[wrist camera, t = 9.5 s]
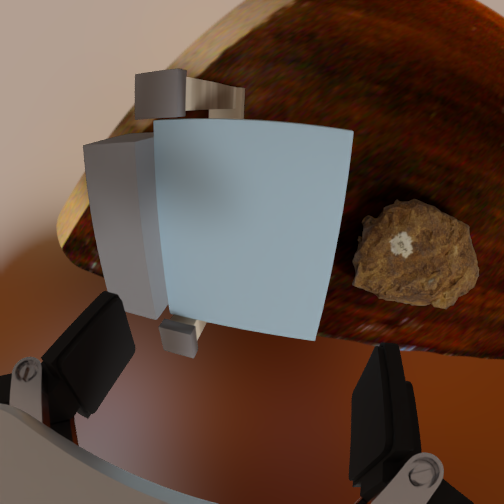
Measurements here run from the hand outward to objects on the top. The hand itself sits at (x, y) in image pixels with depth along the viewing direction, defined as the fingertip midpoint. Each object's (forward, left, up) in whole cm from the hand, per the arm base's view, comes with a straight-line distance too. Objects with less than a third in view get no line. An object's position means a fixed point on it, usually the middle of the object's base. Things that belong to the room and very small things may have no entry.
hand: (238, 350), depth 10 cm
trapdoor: (+4, 0, -11) cm, 12 cm away
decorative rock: (-14, +4, -20) cm, 25 cm away
